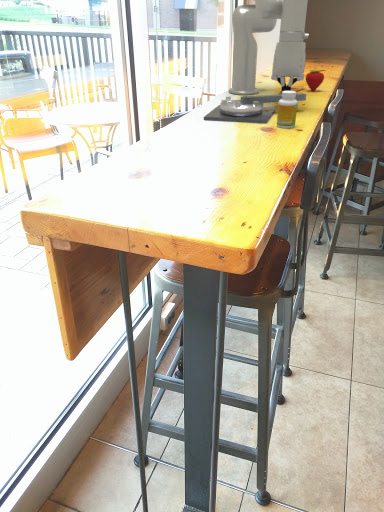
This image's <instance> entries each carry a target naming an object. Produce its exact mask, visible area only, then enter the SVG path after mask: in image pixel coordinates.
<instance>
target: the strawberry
mask: <svg viewBox="0 0 384 512" xmlns="http://www.w3.org/2000/svg"><path fill="white" fill-rule="evenodd" d="M308 71H309V72H308V73H307V74H306V75H305V83H306V84H307V86H308V88H309V89H310V91H311V92H315V91H316V90H317V89H318V88H319V87H320V86H321V85H322V83H324V80H325V74H324V73H323V72H322V70H321V69H320V70H318V69H316V67H314V69H313V70H312V69H311V70H308Z"/></svg>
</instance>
